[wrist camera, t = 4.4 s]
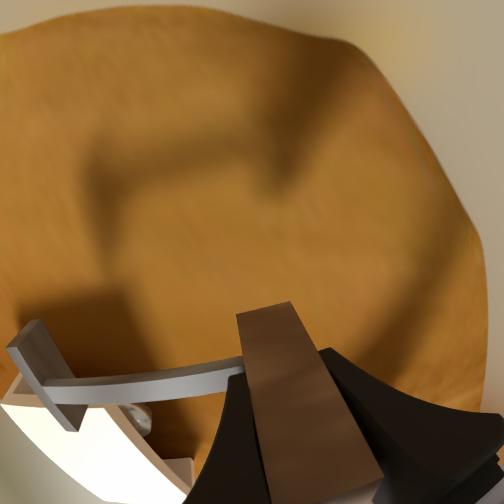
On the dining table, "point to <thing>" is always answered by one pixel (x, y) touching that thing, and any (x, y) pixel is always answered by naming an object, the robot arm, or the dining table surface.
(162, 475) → the white bridge block
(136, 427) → the grey round disc
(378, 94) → the dining table surface
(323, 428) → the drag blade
